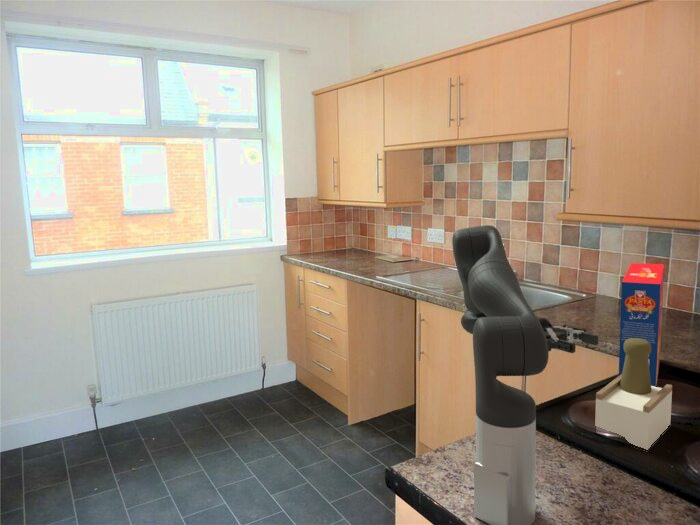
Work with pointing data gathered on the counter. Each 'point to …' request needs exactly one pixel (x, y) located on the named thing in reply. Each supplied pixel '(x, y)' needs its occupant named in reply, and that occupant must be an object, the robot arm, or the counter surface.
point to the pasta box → (642, 311)
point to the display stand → (634, 413)
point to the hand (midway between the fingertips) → (586, 344)
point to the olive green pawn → (636, 367)
